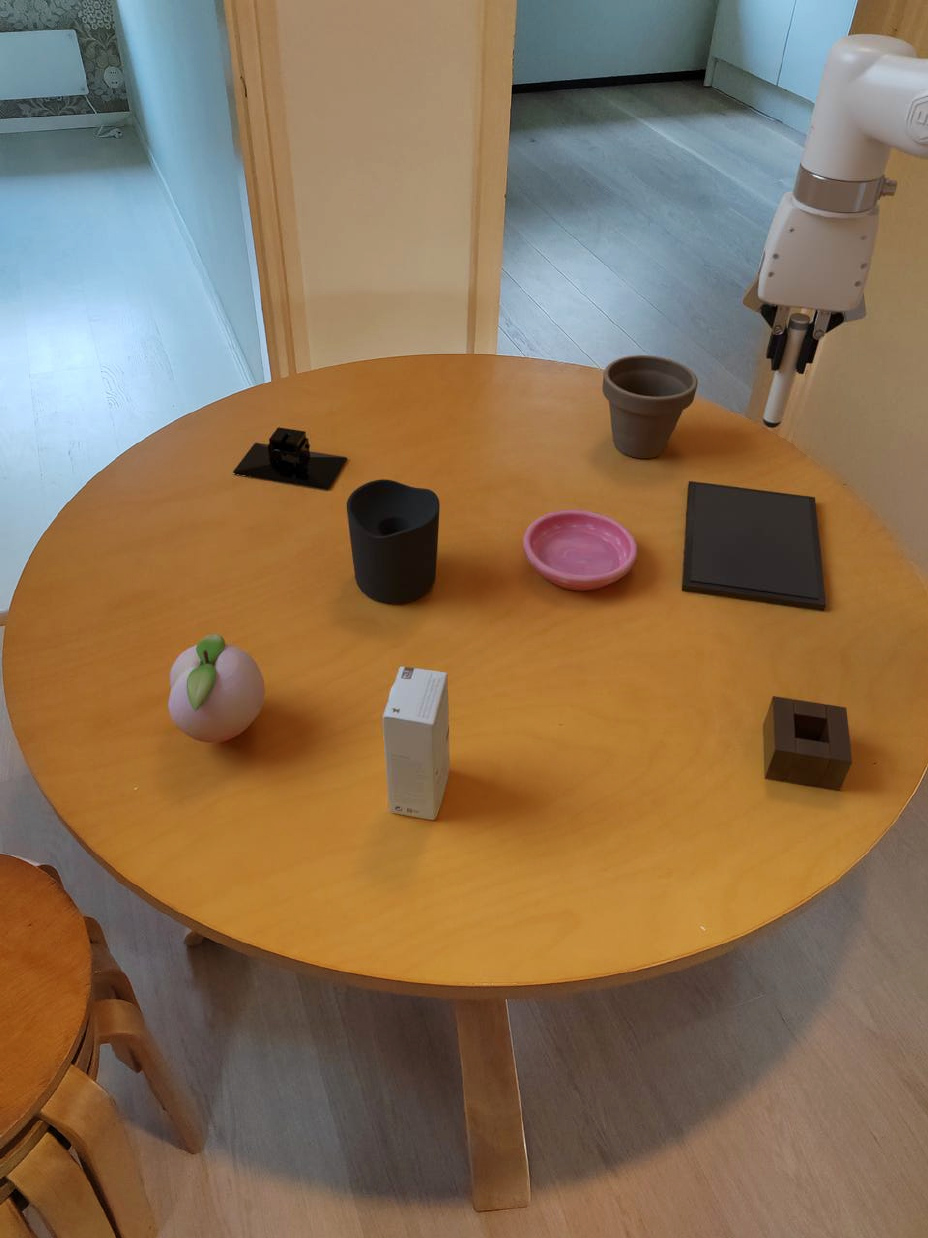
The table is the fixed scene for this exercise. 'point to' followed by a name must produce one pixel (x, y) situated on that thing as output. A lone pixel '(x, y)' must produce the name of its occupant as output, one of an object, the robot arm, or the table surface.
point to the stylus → (786, 370)
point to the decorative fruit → (215, 690)
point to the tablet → (753, 546)
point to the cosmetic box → (417, 742)
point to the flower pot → (646, 401)
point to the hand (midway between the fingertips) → (787, 364)
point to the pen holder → (393, 540)
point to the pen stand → (806, 743)
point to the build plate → (291, 461)
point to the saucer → (579, 549)
